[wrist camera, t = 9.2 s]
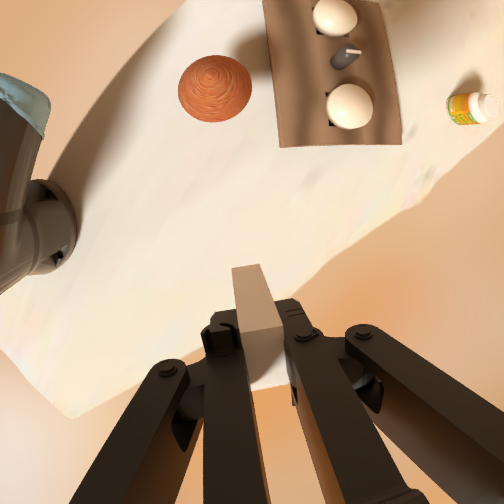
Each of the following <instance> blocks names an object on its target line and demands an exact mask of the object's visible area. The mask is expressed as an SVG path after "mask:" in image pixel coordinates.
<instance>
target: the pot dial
mask: <svg viewBox="0 0 504 504" xmlns="http://www.w3.org/2000/svg"><path fill="white" fill-rule="evenodd" d="M360 54H362V53H361V51H359V50H358V48H357V47H356V46H355V45H353V44H345V45H344V46H343V47H342V48H341V49H340V50H339V51H337V52H336V53H335V54H334V55H333V56H332V57H331V58H330V64H331V66H332V67H333V68H334V69H336V70H343V69H344V68H346V67H347V66H348V65H350V64H351V63H353V62H354V61H355V60H357V59H358V58H359V56H360Z"/></svg>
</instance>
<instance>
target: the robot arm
mask: <svg viewBox="0 0 504 504" xmlns="http://www.w3.org/2000/svg"><path fill="white" fill-rule="evenodd" d="M50 111H51V103H50V100H49V98H48V97H47V96H46V95H45V94H44V93H43V92H41V91H40V90H38V89H37V88H35V87H33V86H31V85H29V84H27V83H25V82H23V81H21V80H18V79H16V78H14V77H12V76H9V75H7V74H4V73H0V295H1V294H2V293H3V292H4V291H6V290H7V289H9V288H10V287H11V286H13V285H14V284H15V283H17V282H18V281H19V280H21V279H22V278H24V277H25V276H27V275H40V274H47V273H50V272H52V271H54V270H56V269H57V268H59V267H60V266H61V265H63V264H64V263H65V262H66V261H67V260H68V258H69V257H70V255H71V253H72V251H73V249H74V246H75V242H76V235H77V225H76V218H75V213H74V210H73V207H72V205H71V203H70V201H69V199H68V197H67V196H66V194H65V193H64V192H63V191H62V190H61V189H60V188H59V187H58V186H57V185H56V184H54V183H52V182H50V181H47V180H43V179H36V180H30V179H31V175H32V172H33V168H34V164H35V161H36V157H37V153H38V150H39V147H40V144H41V141H42V140H43V139H44V130H45V127H46V124H47V121H48V117H49V114H50ZM232 277H233V286H234V294H235V302H236V309H232V310H226V311H219V312H215V313H214V314H213V316H212V317H211V319H210V325H208V326H206V327H205V328H204V329H203V330H202V332H201V338H202V341H203V345H204V349H205V353H206V357H205V358H203V359H202V360H200V361H199V362H196V363H194V364H191V365H188V366H186V365H185V363H184V362H183V361H181V360H179V359H167V360H163V361H160V362H159V363H157V364H155V365H154V366H153V367H152V368H151V370H150V371H149V373H148V374H147V376H146V377H145V379H144V381H143V382H142V384H141V385H140V387H139V389H138V390H137V392H136V393H135V395H134V397H133V398H132V400H131V401H130V403H129V405H128V406H127V408H126V410H125V411H124V413H123V414H122V416H121V417H120V419H119V421H118V422H117V424H116V426H115V427H114V429H113V430H112V432H111V434H110V435H109V437H108V439H107V440H106V442H105V444H104V445H103V447H102V449H101V450H100V452H99V453H98V455H97V457H96V458H95V460H94V462H93V463H92V465H91V467H90V469H89V470H88V472H87V473H86V475H85V477H84V479H83V480H82V482H81V484H80V485H79V487H78V489H77V490H76V492H75V494H74V495H73V497H72V499H71V501H70V502H69V504H175V501H176V498H177V496H178V493H179V490H180V487H181V484H182V482H183V479H184V476H185V473H186V470H187V467H188V465H189V462H190V459H191V456H192V453H193V450H194V447H195V445H196V442H197V439H198V436H199V433H200V430H201V428H202V425H203V422H204V427H203V432H204V433H203V504H271V500H270V495H269V489H268V484H267V479H266V473H265V467H264V462H263V456H262V450H261V444H260V438H259V432H258V427H257V421H256V415H255V408H254V402H253V397H252V392H251V391H253V390H259V389H264V388H270V387H276V386H281V385H286V384H289V380H290V384H291V393H292V394H291V395H292V405H293V406H296V409H297V413H298V416H299V419H300V422H301V426H302V429H303V432H304V435H305V438H306V442H307V445H308V448H309V451H310V454H311V458H312V461H313V464H314V467H315V470H316V473H317V477H318V480H319V483H320V486H321V490H322V493H323V496H324V499H325V503H326V504H429V502H428V500H427V498H426V497H425V496H424V494H423V493H422V492H420V491H419V490H418V489H410V488H409V487H408V486H407V485H406V483H405V481H404V480H403V478H402V476H401V474H400V472H399V470H398V468H397V466H396V464H395V463H394V461H393V459H392V457H391V455H390V453H389V451H388V449H387V448H386V446H385V444H384V442H383V440H382V438H381V437H380V435H379V433H378V431H377V429H376V428H375V426H374V424H375V425H376V426H377V427H378V428H379V429H380V430H381V431H382V432H383V433H384V434H385V435H386V436H387V437H388V438H389V439H390V440H391V441H392V442H393V443H394V444H396V446H398V448H400V449H401V450H402V451H403V452H404V453H405V454H406V455H407V456H408V457H409V458H410V459H411V460H412V461H413V462H414V463H415V464H416V465H417V466H418V467H419V468H420V469H421V470H422V471H423V472H425V474H426V475H428V476H429V477H430V478H431V479H432V480H433V481H434V482H435V483H436V484H437V485H438V486H439V487H440V488H441V489H443V491H445V492H446V493H447V494H448V495H449V496H450V497H451V498H452V499H453V500H454V501H456V503H458V504H504V412H503V411H501V410H500V409H498V408H497V407H495V406H494V405H492V404H491V403H489V402H488V401H486V400H485V399H483V398H482V397H480V396H479V395H477V394H476V393H475V392H473V391H472V390H470V389H469V388H467V387H465V386H464V385H463V384H461V383H460V382H458V381H457V380H455V379H454V378H452V377H451V376H449V375H448V374H446V373H445V372H443V371H442V370H440V369H439V368H437V367H436V366H434V365H433V364H431V363H430V362H428V361H427V360H425V359H424V358H422V357H421V356H420V355H418V354H417V353H415V352H414V351H412V350H411V349H409V348H407V347H406V346H405V345H403V344H402V343H400V342H398V341H397V340H396V339H394V338H393V337H391V336H390V335H388V334H387V333H385V332H384V331H382V330H380V329H379V328H378V327H375V326H373V325H368V324H358V325H355V326H352V327H350V328H348V329H347V331H346V332H345V337H336V338H335V337H326V336H324V335H323V333H322V332H321V331H320V330H319V329H317V328H315V327H313V326H312V325H311V322H310V321H309V319H308V317H307V315H306V314H305V312H304V310H303V308H302V306H301V304H300V303H299V302H298V301H296V300H294V299H293V298H291V299H285V300H280V301H273V298H272V295H271V293H270V290H269V288H268V285H267V282H266V280H265V277H264V275H263V272H262V269H261V267H260V264H255V265H249V266H243V267H237V268H232ZM288 377H289V378H288ZM373 423H374V424H373Z"/></svg>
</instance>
